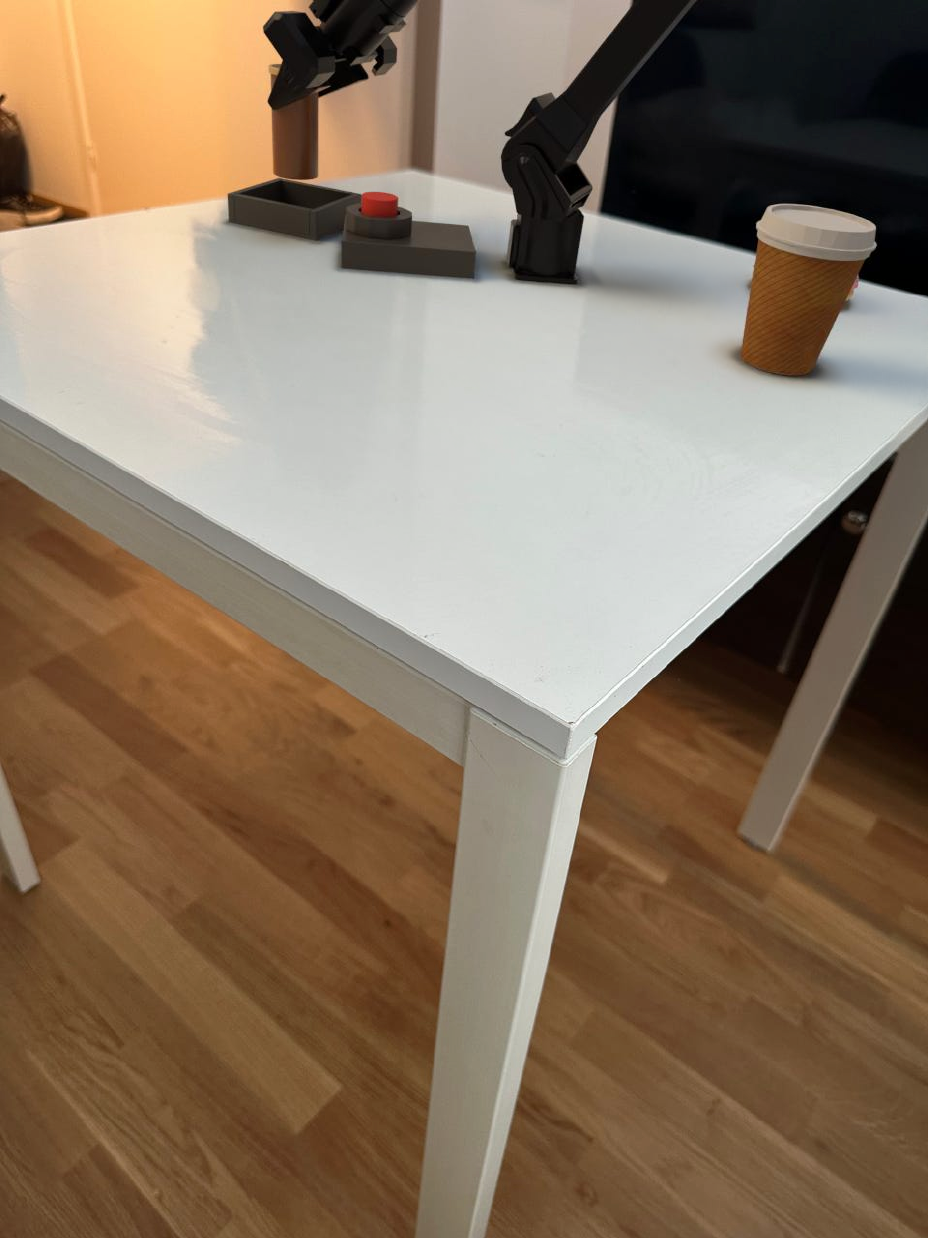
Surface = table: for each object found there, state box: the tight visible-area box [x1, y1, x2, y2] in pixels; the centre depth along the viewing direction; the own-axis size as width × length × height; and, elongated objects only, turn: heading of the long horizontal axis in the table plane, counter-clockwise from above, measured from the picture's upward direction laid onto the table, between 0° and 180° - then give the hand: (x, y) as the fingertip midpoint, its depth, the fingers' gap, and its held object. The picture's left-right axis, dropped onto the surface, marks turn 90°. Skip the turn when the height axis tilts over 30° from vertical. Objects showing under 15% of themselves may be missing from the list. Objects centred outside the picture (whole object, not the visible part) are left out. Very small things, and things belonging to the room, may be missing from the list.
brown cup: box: [267, 63, 319, 181], centre depth 96 cm, size 5×5×10 cm
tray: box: [227, 177, 363, 242], centre depth 101 cm, size 11×11×3 cm
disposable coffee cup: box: [739, 203, 878, 376], centre depth 77 cm, size 10×10×12 cm
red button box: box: [340, 202, 477, 280], centre depth 94 cm, size 13×10×4 cm
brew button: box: [361, 191, 399, 217], centre depth 92 cm, size 4×4×2 cm
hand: (283, 103), depth 96 cm, fingers closed on brown cup, 5 cm apart
